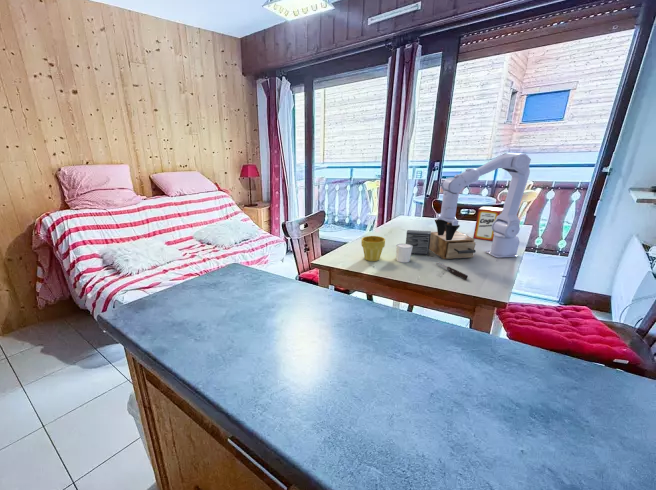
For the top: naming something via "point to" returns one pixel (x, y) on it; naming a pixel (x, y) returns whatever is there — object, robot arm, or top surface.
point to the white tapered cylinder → (403, 252)
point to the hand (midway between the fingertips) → (444, 237)
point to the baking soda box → (486, 222)
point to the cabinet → (445, 242)
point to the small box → (419, 241)
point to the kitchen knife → (452, 270)
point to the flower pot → (372, 247)
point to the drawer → (460, 249)
